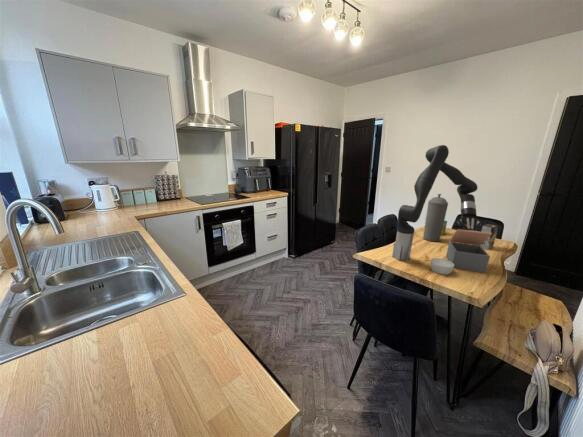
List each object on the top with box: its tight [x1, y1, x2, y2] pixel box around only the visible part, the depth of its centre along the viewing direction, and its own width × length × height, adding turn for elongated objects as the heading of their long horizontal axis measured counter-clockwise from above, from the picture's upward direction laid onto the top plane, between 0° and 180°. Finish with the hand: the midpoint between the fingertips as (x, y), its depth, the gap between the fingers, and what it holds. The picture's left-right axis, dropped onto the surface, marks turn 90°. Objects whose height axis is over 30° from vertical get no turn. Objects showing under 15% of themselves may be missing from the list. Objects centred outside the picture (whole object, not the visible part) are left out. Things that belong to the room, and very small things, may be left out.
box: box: [445, 242, 491, 274], centre depth 139 cm, size 16×16×10 cm
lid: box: [448, 228, 492, 246], centre depth 138 cm, size 16×16×1 cm
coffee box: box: [477, 223, 499, 251], centre depth 164 cm, size 9×6×16 cm
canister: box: [422, 193, 449, 242], centre depth 175 cm, size 13×13×35 cm
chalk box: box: [441, 219, 448, 236], centre depth 192 cm, size 9×9×15 cm
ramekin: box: [429, 257, 454, 275], centre depth 132 cm, size 11×11×5 cm
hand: (470, 235), depth 137 cm, fingers closed
